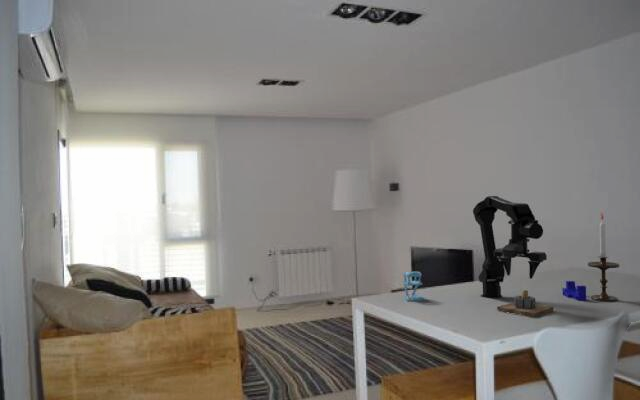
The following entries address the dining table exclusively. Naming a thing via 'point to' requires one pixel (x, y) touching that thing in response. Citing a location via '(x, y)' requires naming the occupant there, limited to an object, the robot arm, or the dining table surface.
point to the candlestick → (603, 267)
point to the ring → (524, 302)
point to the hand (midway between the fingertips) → (519, 276)
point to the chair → (410, 283)
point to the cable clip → (574, 291)
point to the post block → (527, 312)
